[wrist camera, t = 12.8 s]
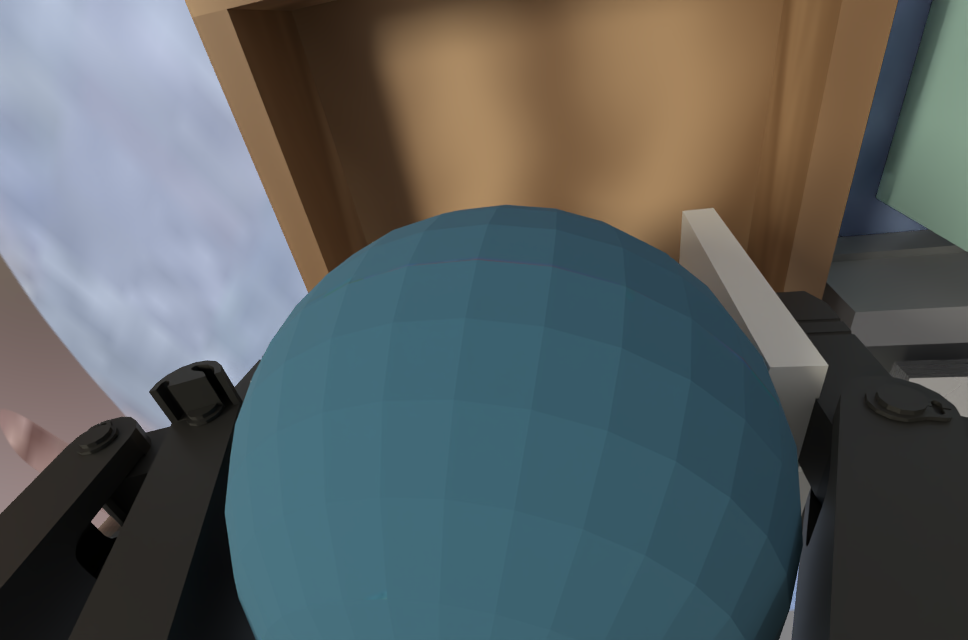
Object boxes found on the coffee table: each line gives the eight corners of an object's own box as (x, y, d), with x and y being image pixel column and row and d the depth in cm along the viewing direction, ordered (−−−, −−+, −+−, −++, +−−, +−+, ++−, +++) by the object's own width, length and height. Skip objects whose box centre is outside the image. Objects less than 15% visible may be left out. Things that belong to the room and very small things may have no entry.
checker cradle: (728, 468, 26) (758, 553, 22) (767, 243, 19) (822, 306, 15) (1030, 472, 23) (1131, 571, 19) (1215, 205, 16) (1443, 271, 12)
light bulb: (627, 47, 11) (1161, 369, 1) (710, 322, 15) (1000, 973, 5) (354, 190, 14) (-167, 609, 4) (478, 387, 18) (359, 859, 8)
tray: (396, 373, 26) (367, 432, 22) (260, -22, 16) (170, -34, 13) (751, 361, 22) (788, 431, 18) (845, -171, 12) (962, -251, 9)
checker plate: (854, 465, 21) (865, 484, 20) (894, 361, 18) (909, 378, 17) (1016, 467, 19) (1036, 487, 19) (1090, 355, 16) (1118, 373, 15)
